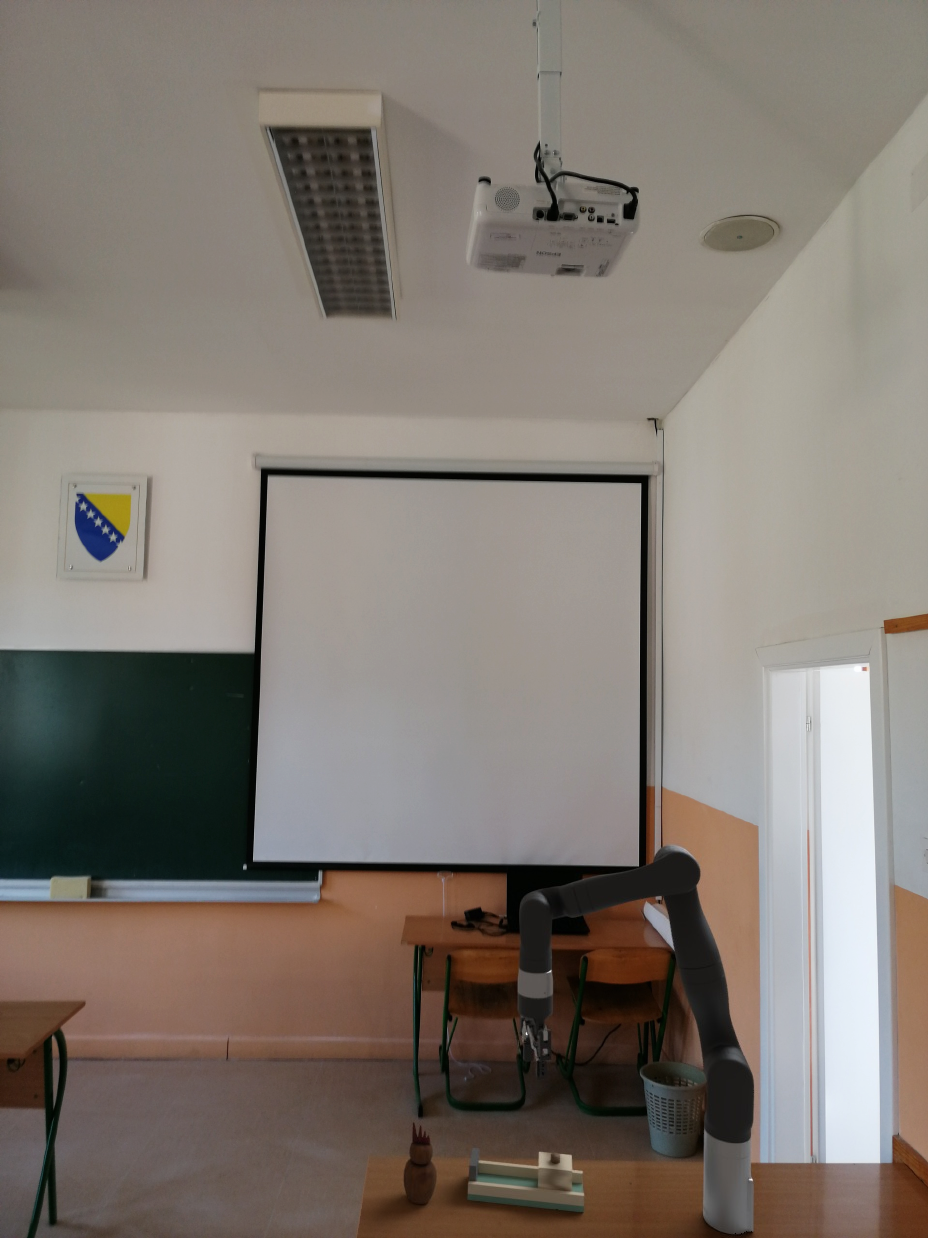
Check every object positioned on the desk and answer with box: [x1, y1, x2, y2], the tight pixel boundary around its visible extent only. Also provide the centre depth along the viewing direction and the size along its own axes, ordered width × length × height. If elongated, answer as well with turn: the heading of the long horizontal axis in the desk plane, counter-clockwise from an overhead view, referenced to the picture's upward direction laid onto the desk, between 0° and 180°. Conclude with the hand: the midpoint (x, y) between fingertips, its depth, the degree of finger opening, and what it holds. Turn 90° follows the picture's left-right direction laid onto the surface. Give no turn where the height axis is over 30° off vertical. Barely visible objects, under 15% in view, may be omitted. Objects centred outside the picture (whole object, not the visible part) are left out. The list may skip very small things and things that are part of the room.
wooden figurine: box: [403, 1121, 438, 1205], centre depth 171 cm, size 7×6×15 cm
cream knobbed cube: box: [538, 1151, 573, 1192], centre depth 174 cm, size 7×6×7 cm
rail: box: [467, 1147, 585, 1213], centre depth 174 cm, size 24×9×6 cm, turn 84°
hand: (534, 1069), depth 174 cm, fingers open, 8 cm apart
